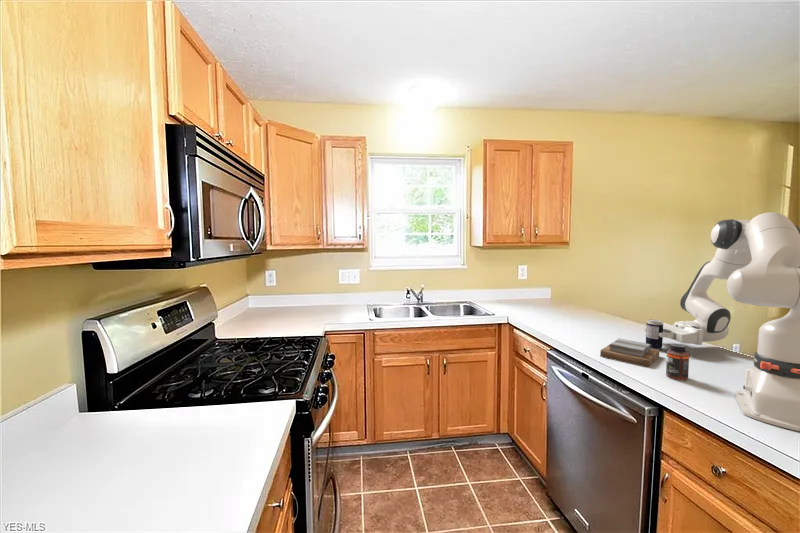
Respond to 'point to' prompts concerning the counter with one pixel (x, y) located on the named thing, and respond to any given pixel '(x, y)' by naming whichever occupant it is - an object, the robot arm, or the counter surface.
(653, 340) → the beverage can
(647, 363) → the plinth
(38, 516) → the counter surface
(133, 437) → the counter surface
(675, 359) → the supplement bottle
